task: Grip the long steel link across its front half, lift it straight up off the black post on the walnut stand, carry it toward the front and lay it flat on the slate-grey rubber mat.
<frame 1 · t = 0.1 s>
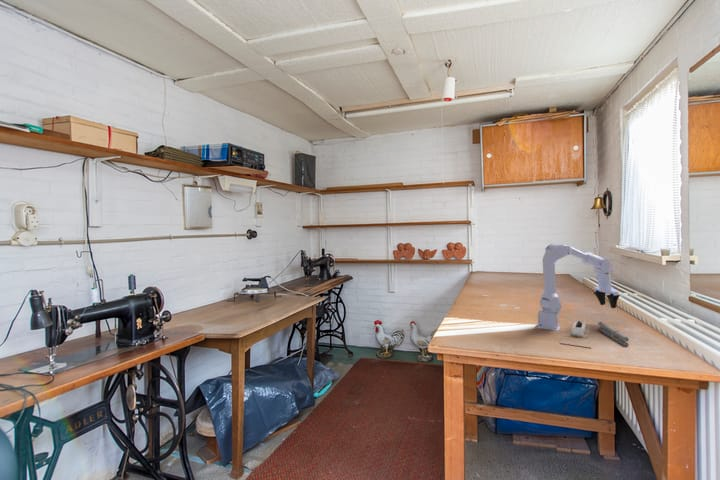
hand: (608, 306, 189), 11 cm above the table, fingers open, 7 cm apart
rubber mat: (576, 342, 164), on the table
metal rod assembly: (612, 339, 170), on the table
post stand: (579, 334, 177), on the table
steel link: (579, 333, 177), point 1 cm above the table, touching post stand
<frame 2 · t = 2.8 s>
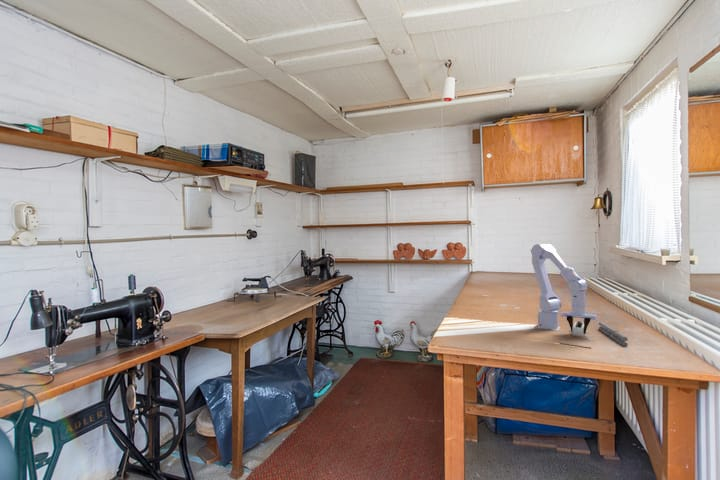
hand: (578, 332, 174), 2 cm above the table, fingers closed on steel link, 4 cm apart
steel link: (579, 333, 177), point 1 cm above the table, touching gripper, post stand
everything else where it was.
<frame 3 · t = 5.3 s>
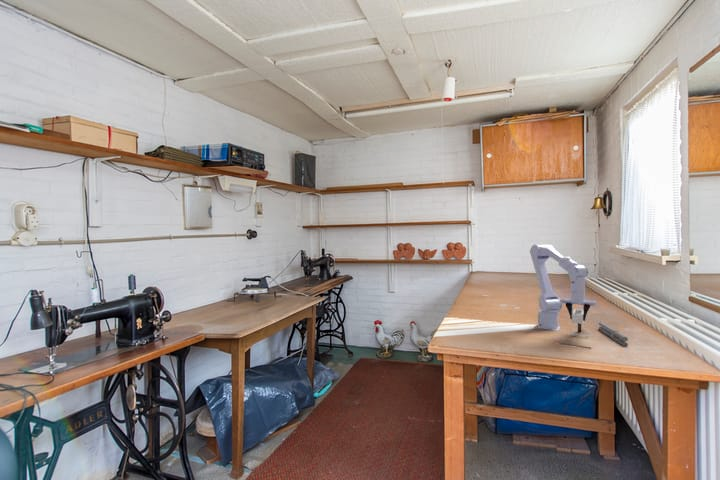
hand: (577, 319, 170), 9 cm above the table, fingers closed on steel link, 4 cm apart
steel link: (578, 320, 172), point 8 cm above the table, touching gripper
everything else where it was.
when the fingers open (3 cm above the table, at t = 7.6 s): steel link drops 2 cm, resting on rubber mat.
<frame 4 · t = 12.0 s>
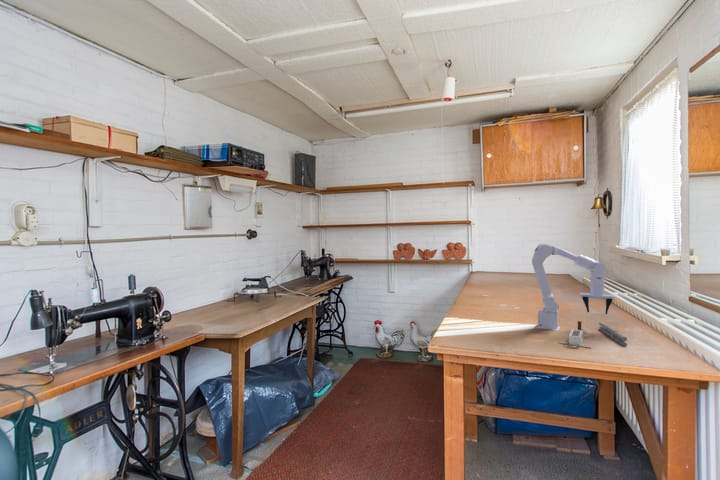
hand: (597, 312, 180), 9 cm above the table, fingers open, 7 cm apart
steel link: (576, 341, 164), resting on rubber mat
everything else where it was.
at the end: steel link inside the target area (0.1 cm from its centre), resting on rubber mat; steel link tilted 0°; the gripper is holding nothing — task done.
